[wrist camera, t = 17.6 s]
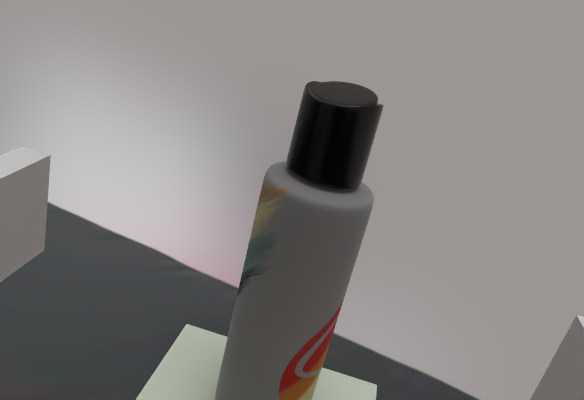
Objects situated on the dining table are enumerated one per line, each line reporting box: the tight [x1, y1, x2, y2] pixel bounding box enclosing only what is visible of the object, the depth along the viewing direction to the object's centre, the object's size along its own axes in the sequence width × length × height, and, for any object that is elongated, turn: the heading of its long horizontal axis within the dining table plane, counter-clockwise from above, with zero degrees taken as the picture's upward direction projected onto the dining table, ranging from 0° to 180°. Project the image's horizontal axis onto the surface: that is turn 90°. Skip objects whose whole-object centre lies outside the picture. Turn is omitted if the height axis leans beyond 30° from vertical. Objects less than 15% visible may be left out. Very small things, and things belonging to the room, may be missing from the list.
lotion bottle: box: [215, 81, 383, 400], centre depth 29 cm, size 6×6×20 cm
